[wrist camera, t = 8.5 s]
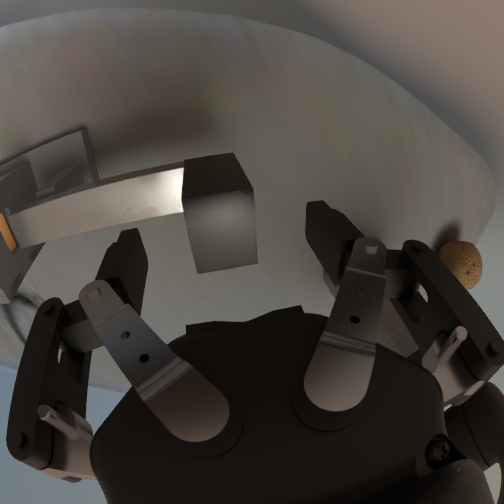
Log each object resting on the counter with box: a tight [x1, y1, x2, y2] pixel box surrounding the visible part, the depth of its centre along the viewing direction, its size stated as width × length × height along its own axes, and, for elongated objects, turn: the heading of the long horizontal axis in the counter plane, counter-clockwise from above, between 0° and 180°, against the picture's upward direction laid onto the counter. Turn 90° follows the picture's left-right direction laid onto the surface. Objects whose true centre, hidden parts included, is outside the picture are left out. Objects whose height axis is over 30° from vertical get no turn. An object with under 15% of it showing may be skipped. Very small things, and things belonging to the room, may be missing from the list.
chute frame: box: [0, 128, 99, 304], centre depth 17 cm, size 16×10×12 cm, turn 93°
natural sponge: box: [438, 241, 482, 290], centre depth 36 cm, size 9×9×10 cm
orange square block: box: [0, 212, 17, 252], centre depth 18 cm, size 5×5×3 cm
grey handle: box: [7, 153, 258, 274], centre depth 14 cm, size 18×4×8 cm, turn 93°
